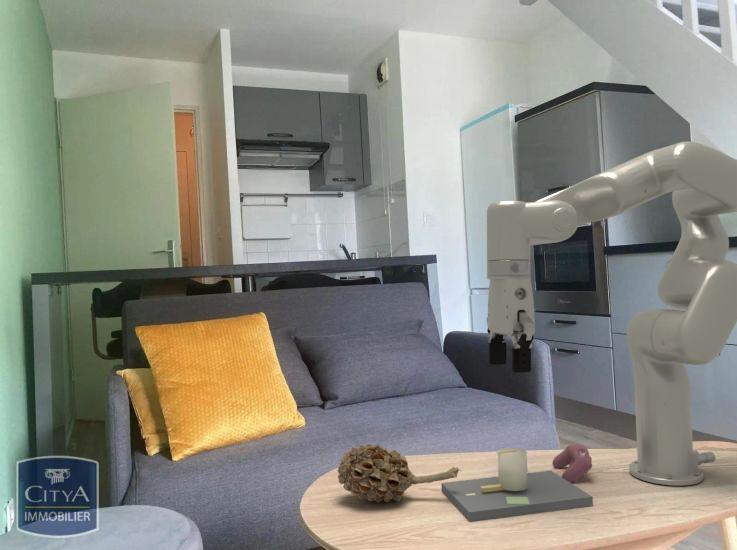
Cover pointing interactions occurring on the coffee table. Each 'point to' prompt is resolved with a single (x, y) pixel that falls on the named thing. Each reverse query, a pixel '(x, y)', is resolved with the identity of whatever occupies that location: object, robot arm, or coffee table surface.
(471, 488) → the dial board
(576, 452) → the video game controller
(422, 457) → the coffee table surface
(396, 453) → the pine cone
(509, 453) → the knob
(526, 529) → the coffee table surface
